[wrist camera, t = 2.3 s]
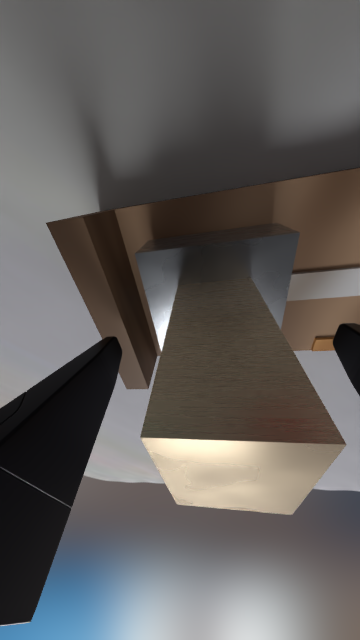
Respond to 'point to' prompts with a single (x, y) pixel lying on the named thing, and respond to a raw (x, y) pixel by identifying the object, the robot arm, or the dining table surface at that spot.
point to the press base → (213, 215)
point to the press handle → (231, 374)
